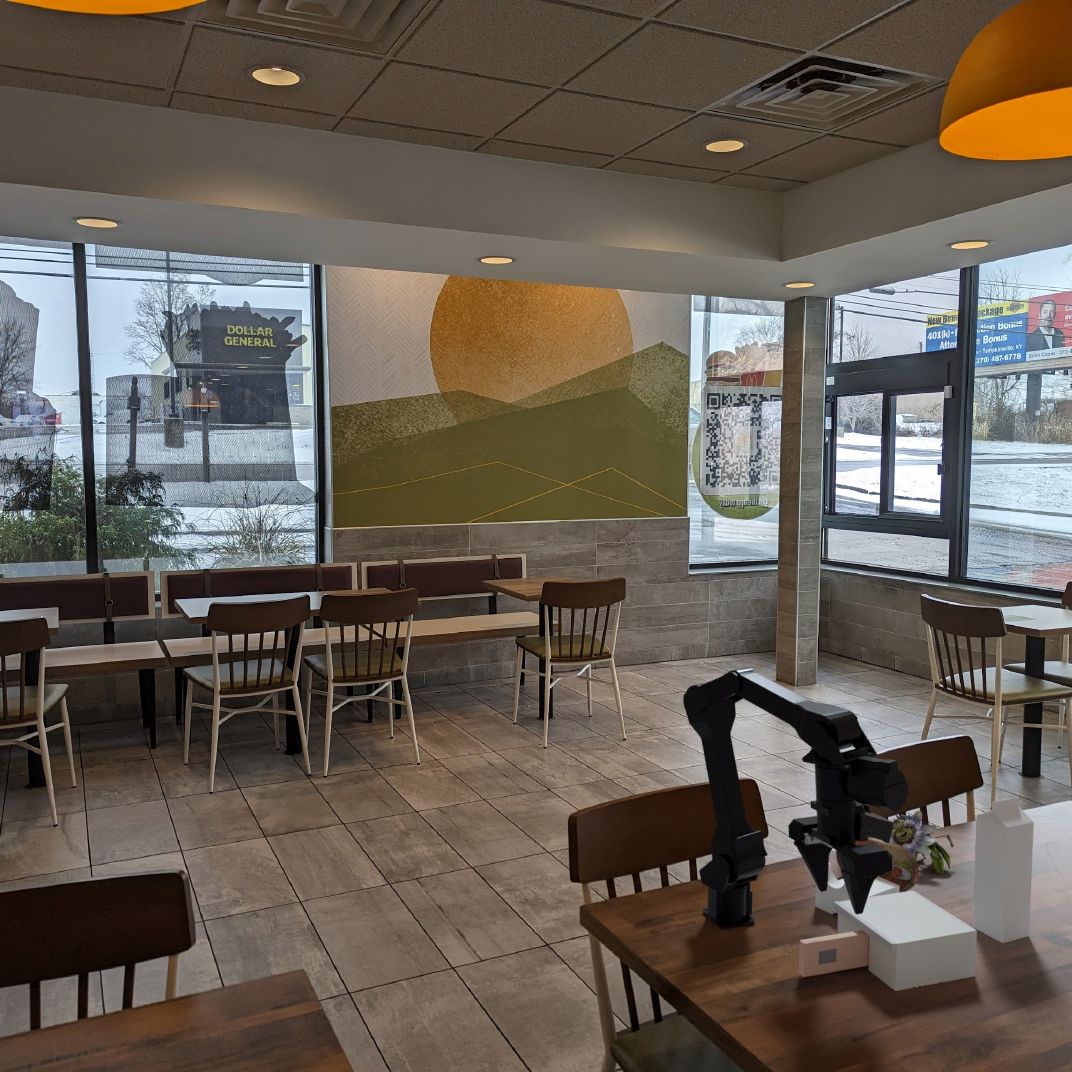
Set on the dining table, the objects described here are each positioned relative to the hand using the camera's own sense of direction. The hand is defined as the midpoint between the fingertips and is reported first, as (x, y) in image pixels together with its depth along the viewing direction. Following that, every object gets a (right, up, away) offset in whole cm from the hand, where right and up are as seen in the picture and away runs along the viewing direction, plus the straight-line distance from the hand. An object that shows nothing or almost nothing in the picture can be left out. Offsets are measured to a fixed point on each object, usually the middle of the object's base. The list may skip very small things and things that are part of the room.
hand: (840, 902), depth 141 cm
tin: (+17, -9, +32) cm, 37 cm away
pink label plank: (+5, -11, +3) cm, 12 cm away
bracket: (+10, -10, +24) cm, 28 cm away
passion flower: (+27, -9, +41) cm, 50 cm away
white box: (+11, -11, +5) cm, 16 cm away
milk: (+31, -11, +14) cm, 35 cm away
